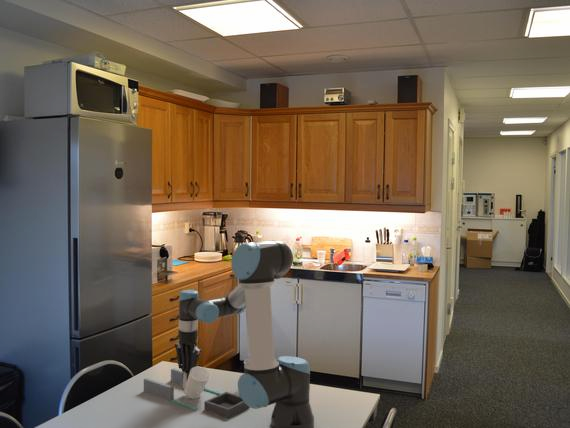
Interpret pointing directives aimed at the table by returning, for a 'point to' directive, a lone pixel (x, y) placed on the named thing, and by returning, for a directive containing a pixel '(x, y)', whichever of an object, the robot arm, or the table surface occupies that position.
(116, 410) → the table surface
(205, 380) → the white cup
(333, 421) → the table surface
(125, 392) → the table surface
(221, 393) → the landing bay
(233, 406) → the tray
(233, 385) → the table surface
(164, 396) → the walled channel
